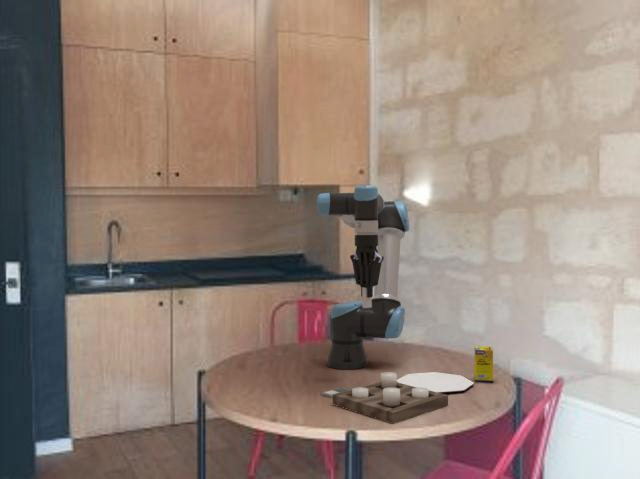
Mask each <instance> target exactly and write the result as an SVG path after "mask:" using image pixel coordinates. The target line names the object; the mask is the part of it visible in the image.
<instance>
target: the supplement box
mask: <svg viewBox="0 0 640 479" xmlns="http://www.w3.org/2000/svg"><path fill="white" fill-rule="evenodd" d="M473 357H474V377H473V378H474V379H473V380H474V382H475V383H484V384H485V383H486V384H487V383H489V384H490V383H491V384H492V383H494V349H493V346H474V356H473Z"/></svg>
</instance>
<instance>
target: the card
mask: <svg viewBox="0 0 640 479" xmlns="http://www.w3.org/2000/svg"><path fill="white" fill-rule="evenodd" d="M349 390H350V389H348V388H345V387H338V388H334V389H329V390H326V391H322V392H320V395H321V394H323V395H325V396H324V397H327V396H329V397H328V398H330V397H332V398H331V399H333V395H334V394H338V393H341V392H345V391H349ZM323 395H322V396H323Z"/></svg>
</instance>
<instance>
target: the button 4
mask: <svg viewBox="0 0 640 479" xmlns="http://www.w3.org/2000/svg"><path fill="white" fill-rule="evenodd" d="M412 397H414V398H418V399H421V400H422V399H425V398H428V389H427V388H422V387H417V388H413V389H412Z"/></svg>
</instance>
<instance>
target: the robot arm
mask: <svg viewBox="0 0 640 479" xmlns="http://www.w3.org/2000/svg"><path fill="white" fill-rule="evenodd" d="M378 189H379V188H378V187H377V186H376V185H357V186H356V185H355V187H354V192H326V193H325V192H323V193H320V194H318V196H317V198H316V209H317V213H318V214H319V215H320V216H326V217H327V216H333V217H335V218H338V219H339V220H342V222H343V223H344V224H345V225H346V226H348V227H351V228H353V229H354V233H355V235H354V246H355V248H356V249H355V253H354V254H350V255H349V257H350V260H351V262H352V269H353V274H354V280H355V284H356V285H357V286H360V296H361V297H362V300H359V301H358V300H357V301H356V300H355V301H345V302H341V303H336V304H334V305H333V306H332V307H331V312H330V313H331V314H330V315H331V316H330V327H331V346H330V350H329V353H328V356H327V358H326V365H327V366H328V367H329V368H332V369H336V370H337V369H338V370H339V369H340V370H355V369H362V368H366V367H367V366H368V365H369V364H368V363H369V361H368V360H369V359H368V355H367V353H366V350H365V349H366V348H365V346H364V338H369V339H370V338H371V339H386V340H388V339H398V338H400V336H401V335H402V332H403V329H404V324H405V314H406V312H405V311H406V310H405V307H404V306H402V302H401V301H400V300H399V299H398V289H399V288H398V287H399V270H400V250H401V240H402V239H403V238H404V237H405V233H406V232H409V231H410V223H409V222H410V221H409V213H408V208H407V204H406V203H405V202H404V201H396V200H392V201H385V200H384V197H383V196H382V194H379V190H378ZM373 288H374V289H373Z"/></svg>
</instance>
